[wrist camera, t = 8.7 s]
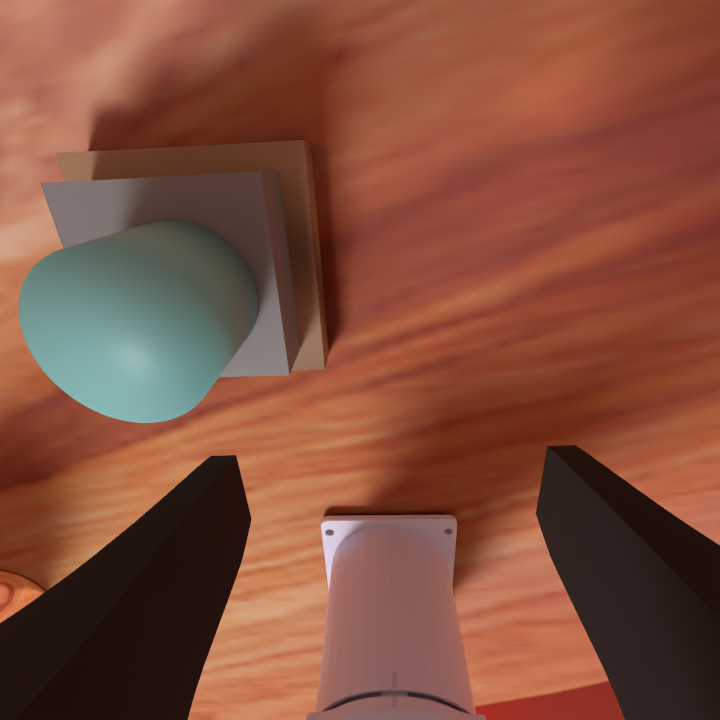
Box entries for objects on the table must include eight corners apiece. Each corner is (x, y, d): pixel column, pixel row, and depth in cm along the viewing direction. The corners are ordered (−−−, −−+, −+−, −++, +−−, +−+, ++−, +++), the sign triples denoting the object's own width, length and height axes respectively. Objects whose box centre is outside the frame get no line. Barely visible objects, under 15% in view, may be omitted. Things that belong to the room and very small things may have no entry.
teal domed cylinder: (264, 361, 15) (228, 426, 11) (133, 357, 15) (57, 419, 12) (249, 220, 13) (197, 247, 9) (95, 218, 13) (-15, 243, 9)
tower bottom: (330, 347, 20) (324, 369, 18) (155, 352, 21) (128, 374, 18) (313, 144, 16) (303, 139, 14) (98, 155, 17) (56, 153, 14)
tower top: (300, 348, 17) (289, 375, 15) (144, 353, 18) (111, 380, 16) (278, 170, 14) (260, 171, 12) (91, 180, 15) (40, 183, 13)
